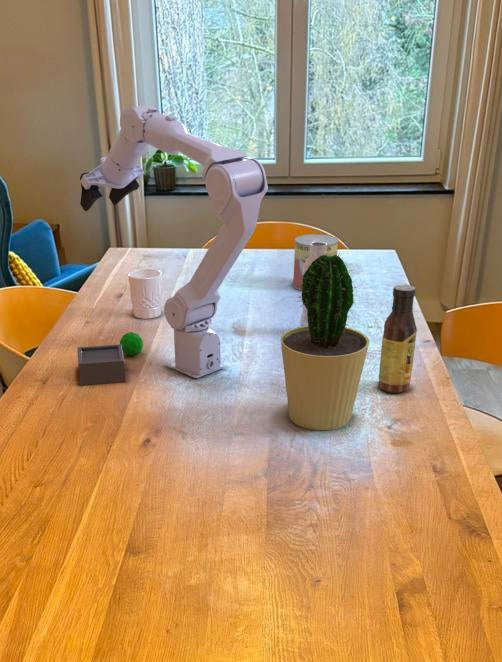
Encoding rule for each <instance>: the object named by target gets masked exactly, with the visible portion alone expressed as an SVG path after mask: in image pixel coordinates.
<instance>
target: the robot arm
mask: <svg viewBox="0 0 502 662" xmlns="http://www.w3.org/2000/svg"><path fill="white" fill-rule="evenodd" d="M119 127H120V129H119V132H118V134H117V135H116V138H115V140H114V141H113V143H112V144H111V147H110V149H109V151H108V153H107V154H106V156H105V157H103V156H102V157H101V158H100V159H99V163H100V164H99V165H97V167H95V168H93V169H92V170H91V171H87V172H83V173H81V174H80V176H79V182H80V186H81V187H80V188H81V194H80V201H79V205H80V206H81V208H82V210H83V211H84V212H88V211H90V209H91V208H92V206H94V204H95V203H96V201H98V200H99V199H100V198H103V194H102V192H101V191H100V187H105V188H111V190H110V192H109V194H108V198H109V200H110V202H111V203H112V205H113V206H116V205H117V204H119V203H120V202H121V201H122V200H123V199H124V198H125V197H126V196H128V195H129V194H131V193H133V192H134V191H137V190H138V189H139V188H140V184H139V182H138V181H137V180H140V179H142V177H143V176H144V174H145V171H144V170H143V168H142V167H141V165H140V164H138V163H139V162H140V159H141V158H142V156H143V154H144V153H145V151H146V149H147V147H148V145H149V146H151V147H153V148H154V149H157V150H159V151H161V152H164V153H166V154H167V155H170V156H175V155H178V154H179V153H180V154H182V155H184V156H185V157H187V158H189V159H190V160H193V161H194V162H196V163H198V164H200V165H201V166H203V168H202V174H201V179H202V181H205V188H206V192H207V194H208V197H209V200H210V202H211V204H212V207H213V209H214V212H215V214H216V217H217V219H218V221H220V222H221V223H222V224H221V227H220V228H219V230H218V232H217V233H216V234H215V237H214V238H213V240H212V242H211V244H210V246H209V247H208V248H207V250H206V252H205V254H204V256H203V258H202V259H201V261H200V263H199V264H198V266H197V268H196V270H195V271H194V273H193V275H192V277H191V278H190V280H189V281H188V282H187V283H186V284H184V285H183V286H182V287H180V288H179V289H177V290H176V292H175V293H174V294H173V296H171V297H169V298H167V300H166V301H165V303H164V307H163V314H164V317H165V320H166V321H167V323H168V325H169V326H170V328H171V329H173V342H174V343H173V344H174V345H173V346H174V360H173V361H170V362H168V363H166V367H168V368H169V369H173V370H174V371H177V372H180V373H181V374H184V375H186V376H188V377H191V378H194V379H199V378H201V377H205V376H208V375H209V374H212V373H215V372H217V371H220V370H222V369H224V365H222V364H221V363H222V362H221V340H220V337H219V335H218V334H217V333H216V332H214V331H213V330H212V329H211V327H210V324H212V318H214V317H215V315H216V313H217V310H218V304H219V301H220V300H221V295H220V292H219V291H218V290H219V288H220V287H221V285H222V283H224V280H225V279H226V277H227V275H228V274H229V272H231V270H232V268H233V266H234V265H235V263H236V261H237V260H238V258H239V256H240V255H241V253H242V252H243V250H244V249H245V247H246V245H247V244H248V242H249V240H250V239H251V237H252V236H253V234H254V232H255V230H256V228H257V224H258V220H259V214H260V208H261V203H262V200H263V198H264V197H265V195H266V193H267V192H268V190H269V186H268V181H267V175H266V170H265V168H264V166H263V164H262V163H261V161H259V160H258V159H257V158H254V157H248V156H249V155H248V154H246V153H245V152H244V151H240V150H236V149H233V148H230V147H226V146H223V145H221V144H218V143H215V142H213V141H210V140H207V139H204V138H202V137H199V136H197V135H193V134H191V133H188V131H187V128H186V125H185V124H184V123H182V122H181V121H178V120H177V116H176V115H174V114H163V113H161V112H160V111H159V109H157V107H155V106H154V105H152V104H146V105H137V106H128V107H126V108H123V109H122V111H121V113H120V116H119ZM246 157H247V158H246ZM244 158H245V159H244Z"/></svg>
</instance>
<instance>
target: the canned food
mask: <svg viewBox="0 0 502 662" xmlns="http://www.w3.org/2000/svg"><path fill="white" fill-rule="evenodd" d="M313 242H324V243H326V244H327V253H326V254H325V255H327V256H329V255H330V256H333V255H335V254H336V255H337V256H338V250H339V249H338V247H339V245H338V244H339V238H338V237H336V236H333V235H330V234H321V233H310V234H301V235H298V236H295V238H294V254H293V255H294V256H293V257H294V258H293V282H292V287H293V288H294V289H296V290H298V291H301V290H302V283H303V266H304V263H305V262H306V260H307V259H308V258H309V256H310V255H311V253H310V252H309V251H310V244H311V243H313ZM301 269H302V270H301ZM298 281H299V282H298ZM300 285H301V286H300ZM296 286H297V287H296ZM299 287H300V288H299ZM299 289H300V290H299Z"/></svg>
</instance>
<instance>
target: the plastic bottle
mask: <svg viewBox="0 0 502 662" xmlns="http://www.w3.org/2000/svg"><path fill="white" fill-rule="evenodd" d="M309 252H310V253H311V255H310V256H309V258H308V259H307V260H306V262H305V263H304V266H303V269H304V270H305V269H306V270H305V271H304V270H303V275H304V273H305V272H306V271H307V269H308V267H309V266H310V264H311V263H312V260H313V261H315V260H316V259H317V258H319V257H320V256H322V255H325V254H326V253H327V244H326V243H324V242H313V243H311V244H310V251H309ZM319 254H320V255H319ZM314 257H315V259H314ZM309 262H310V263H309ZM308 265H309V266H308ZM306 310H307V309H306V307H305V305H303V306H302V310H301V311H302V312H301V314H300V319H299V324H300V327H302V326H308V320H307V319H308V316H307V311H306ZM305 312H306V313H305ZM304 314H305V315H304ZM304 317H306V318H304ZM303 322H304V323H303Z"/></svg>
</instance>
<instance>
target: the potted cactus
mask: <svg viewBox="0 0 502 662" xmlns="http://www.w3.org/2000/svg"><path fill="white" fill-rule="evenodd" d="M340 253H341V251H339V253H338V254H337V255H336V254H335V255H333V256H330V255H329V256H327V255H322V256H320V257H319V258H317V259H316V260H315V261H313V260H312V263H311V264H310V266H309V265H308V266H309V267H308V269H307V271H306V272H305V273H304V275H303V283H302V290H300V289H299V290H298V291H297V292H296V293H298V294H300V296H299V297H298V296H297V298H298V300H296V303H297V302H301V303H302V304H301V305H300V306H299V308H302V307H303V305H305V307H306V309H307V310H306V311H307V316H308V319H307V320H308V326H302V327H301V326H297V327H294V328H291V329H289V330H286V331H285V332H284V333H283V334H281V337H280V347H281V356H282V365H283V374H284V381H285V389H286V390H285V391H286V398H287V399H286V401H287V408H288V409H287V410H288V416H289V419H290V420H291V422H292V423H294V424H295V425H297V426H298V427H301V428H305V429H308V430H313V431H330V430H331V431H332V430H336V429H340V428H342V427H345V426H346V425H347V424H349V422H350V420H351V418H352V415H353V411H354V406H355V403H356V398H357V394H358V391H359V390H358V389H359V385H360V382H361V377H362V375H363V370H364V365H365V362H366V359H367V358H366V357H367V354H368V348H369V346H370V339H369V337H368V336H367V335H366V334H364V333H363V332H362V331H359V330H357V329H354V328H351V327H348V326H349V324H347V321H348V320H349V319H350V318H351V316H348V314H349V313H353V310H351V308H352V307H353V305H357V303H356V302H357V300H356V299H355V298H354V296H355V294H356V292H355V291H354V289H355V290H358V289H356V288H357V286H353V283H354V282H356V281H357V279H355V280H354V281H353V279H352V277H354V274H350V272H352V271H354V269H351V270H348V268H349V266H351V264H352V263H349V265H347V262H348V261H347V259H346V260H345V257H344V258H343V257H342V256H341V255H342V254H340ZM319 255H320V254H319ZM314 259H315V257H314ZM344 260H345V261H344ZM309 263H310V262H309ZM301 270H302V269H301ZM303 270H304V269H303ZM305 270H306V269H305ZM305 270H304V271H305ZM298 282H299V281H298ZM300 286H301V285H300ZM296 287H297V286H296ZM299 288H300V287H299ZM355 301H356V302H355ZM305 313H306V312H305ZM304 315H305V314H304ZM304 318H306V317H304ZM303 323H304V322H303Z"/></svg>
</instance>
